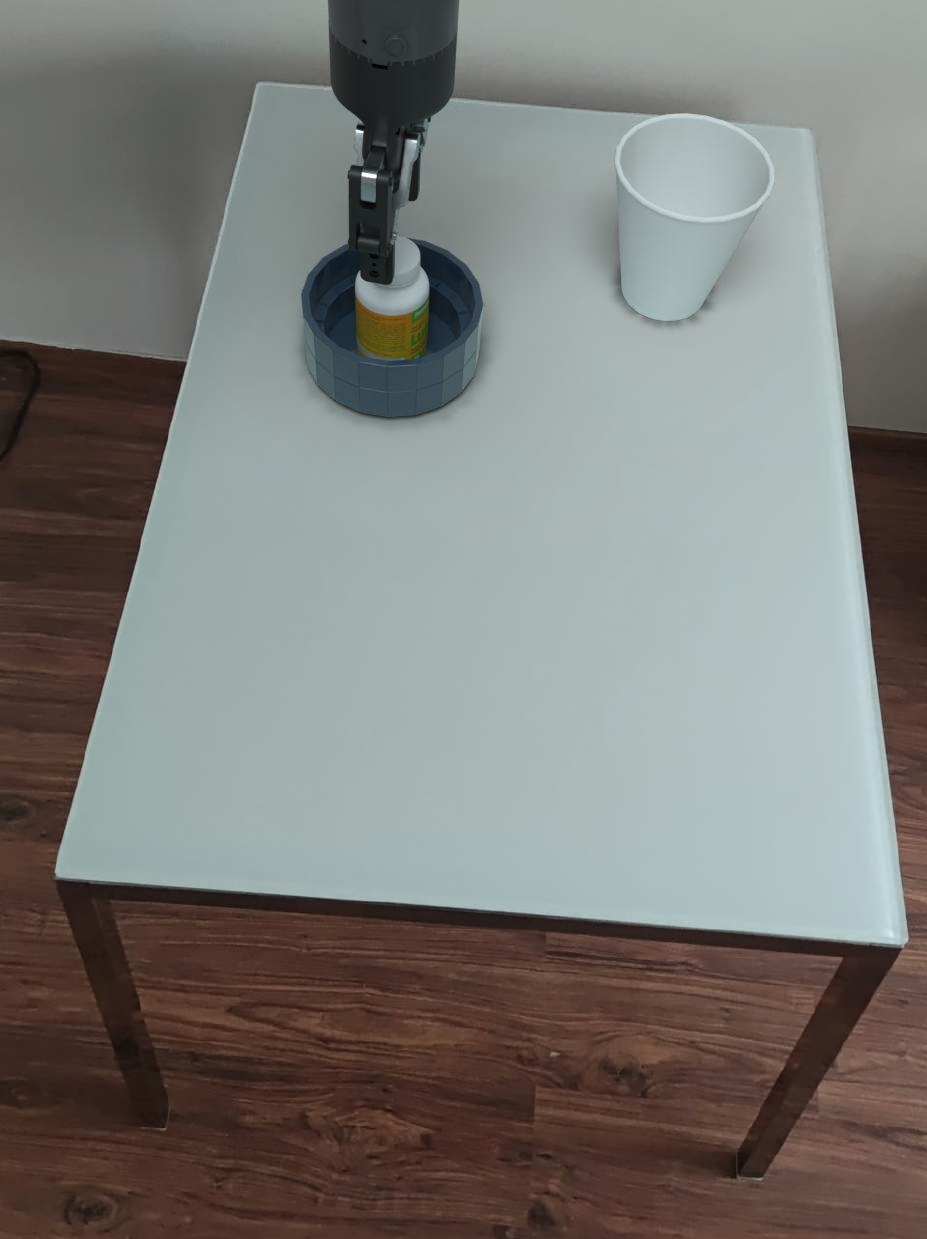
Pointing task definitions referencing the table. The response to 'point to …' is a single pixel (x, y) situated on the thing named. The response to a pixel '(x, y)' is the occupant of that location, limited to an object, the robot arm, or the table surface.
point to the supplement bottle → (394, 309)
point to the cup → (684, 208)
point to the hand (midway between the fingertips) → (390, 237)
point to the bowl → (394, 381)
